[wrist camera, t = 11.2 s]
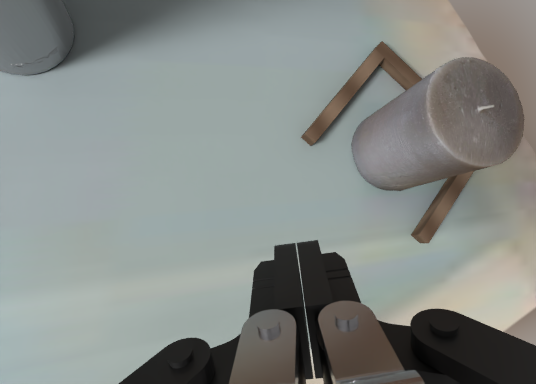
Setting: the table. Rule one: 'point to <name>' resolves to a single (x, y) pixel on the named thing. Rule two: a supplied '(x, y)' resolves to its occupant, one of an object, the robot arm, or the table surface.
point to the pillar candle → (441, 127)
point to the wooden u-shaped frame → (406, 79)
